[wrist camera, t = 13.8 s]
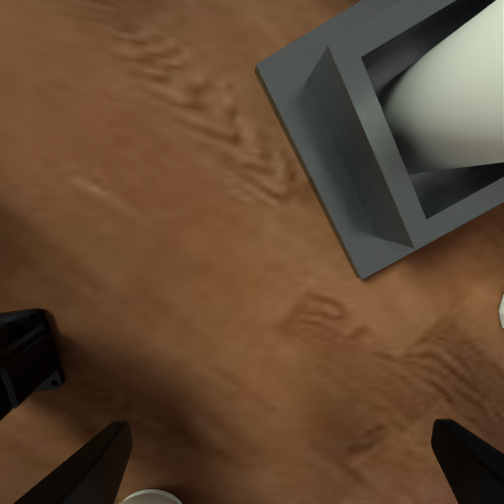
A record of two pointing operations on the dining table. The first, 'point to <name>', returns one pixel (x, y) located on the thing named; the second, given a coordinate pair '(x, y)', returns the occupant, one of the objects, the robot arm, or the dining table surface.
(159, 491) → the lidded jar
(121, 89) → the dining table surface
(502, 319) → the white cup
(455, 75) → the white paper towel roll
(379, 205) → the square open box
